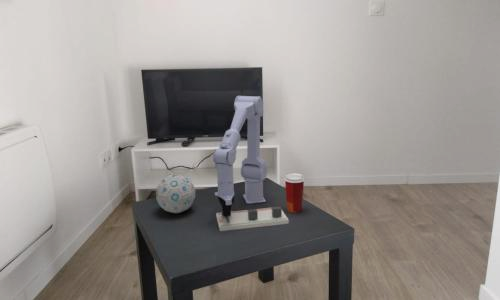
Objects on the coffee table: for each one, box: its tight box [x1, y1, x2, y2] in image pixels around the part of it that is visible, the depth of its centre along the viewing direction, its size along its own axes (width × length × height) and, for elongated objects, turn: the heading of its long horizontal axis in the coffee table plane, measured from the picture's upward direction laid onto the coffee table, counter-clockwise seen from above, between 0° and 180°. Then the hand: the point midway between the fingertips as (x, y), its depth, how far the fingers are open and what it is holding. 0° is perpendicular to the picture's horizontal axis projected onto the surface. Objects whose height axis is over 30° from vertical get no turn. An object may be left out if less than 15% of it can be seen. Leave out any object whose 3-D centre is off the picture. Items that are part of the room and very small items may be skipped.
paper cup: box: [283, 172, 306, 214], centre depth 146 cm, size 8×8×14 cm
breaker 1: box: [247, 208, 258, 220], centre depth 136 cm, size 2×3×3 cm, turn 101°
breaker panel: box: [215, 207, 290, 232], centre depth 139 cm, size 12×25×2 cm, turn 101°
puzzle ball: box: [155, 173, 196, 214], centre depth 147 cm, size 15×15×15 cm
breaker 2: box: [271, 206, 283, 217], centre depth 138 cm, size 2×3×3 cm, turn 101°
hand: (226, 215), depth 138 cm, fingers closed
